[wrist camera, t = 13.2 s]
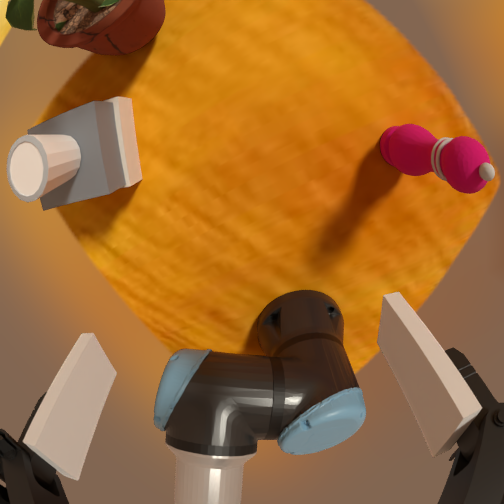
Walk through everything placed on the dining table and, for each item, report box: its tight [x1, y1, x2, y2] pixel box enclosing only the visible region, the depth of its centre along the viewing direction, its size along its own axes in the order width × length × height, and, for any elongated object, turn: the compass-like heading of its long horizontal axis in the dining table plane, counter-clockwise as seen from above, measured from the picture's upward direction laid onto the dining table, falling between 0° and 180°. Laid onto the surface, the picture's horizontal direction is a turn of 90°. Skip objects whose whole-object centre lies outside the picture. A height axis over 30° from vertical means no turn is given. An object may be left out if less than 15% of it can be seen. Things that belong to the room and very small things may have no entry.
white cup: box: [7, 135, 81, 202], centre depth 23 cm, size 7×7×7 cm
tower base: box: [103, 96, 142, 188], centre depth 33 cm, size 12×12×5 cm
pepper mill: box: [380, 124, 495, 194], centre depth 27 cm, size 7×7×20 cm
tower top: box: [28, 101, 126, 210], centre depth 29 cm, size 11×11×5 cm
